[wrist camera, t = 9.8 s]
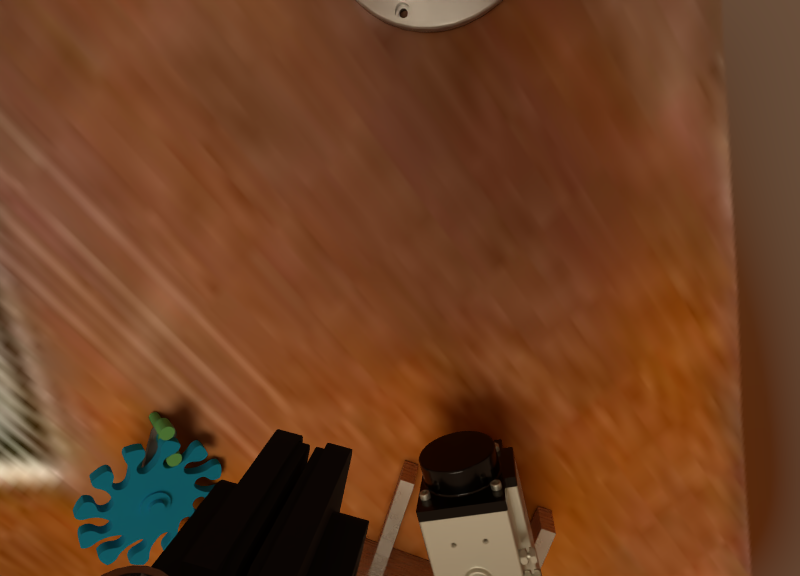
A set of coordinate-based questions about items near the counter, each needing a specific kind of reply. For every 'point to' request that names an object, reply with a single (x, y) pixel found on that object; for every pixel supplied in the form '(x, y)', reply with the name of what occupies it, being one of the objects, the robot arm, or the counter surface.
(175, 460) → the teal lobed piece
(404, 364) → the counter surface
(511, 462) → the pneumatic valve
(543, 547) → the motor
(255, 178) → the counter surface
